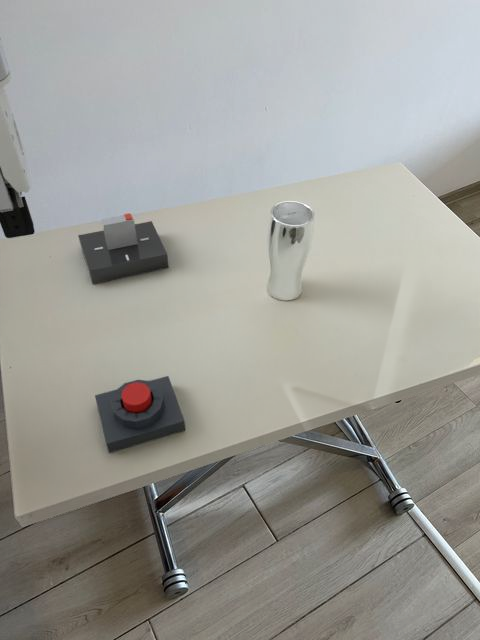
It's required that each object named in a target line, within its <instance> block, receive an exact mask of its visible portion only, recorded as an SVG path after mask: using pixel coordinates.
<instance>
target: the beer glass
mask: <svg viewBox="0 0 480 640" xmlns="http://www.w3.org/2000/svg"><path fill="white" fill-rule="evenodd" d="M269 213H270V215H269V220H268V227H267V238H266V239H267V241H266V243H267V253H268V261H269V275H268V279H267V282H266V291H267V293H268V295H269V296H271V297H272V298H274V299H275V300H279V301H284V302H286V301H293V300H295V299H296V300H297V299H298V298H300V296H301V295H302V293H303V281H302V276H303V273H304V269H305V266H306V263H307V261H308V258H309V255H310V251H311V249H312V244H313V237H314V230H315V229H314V228H315V212H314V209H313V208H312V207H311V206H309V205H308V204H306V203H304V202H301V201H299V200H298V201H297V200H282V201H280V202H277V203H275V204H274V205H273V206H271V208H270V212H269Z"/></svg>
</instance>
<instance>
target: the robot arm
mask: <svg viewBox="0 0 480 640" xmlns="http://www.w3.org/2000/svg"><path fill="white" fill-rule="evenodd" d="M11 80H12V74H11V70H10V67H9V64H8V60H7V57H6V53H5V49H4V46H3V43H2V39H1V38H0V226H1V230H2V232H3V234H4V237H5V238H6V239H13V238H20V237H25V236H31V235H34V234H35V231H36V230H35V226H34V222H33V221H34V220H33V218H32V214H31V212H30V208H29V206H28V203H27V199H26V196H23V193H24V194H25V193H28V192H29V191H30V189H31V187H32V185H31V180H30V179H31V178H30V174H29V166H28V160H27V156H26V152H25V149H24V146H23V142H22V140H21V137H20V134H19V130H18V127H17V123H16V120H15V117H14V114H13V111H12V107H11V105H10V101H9V99H8V96H7V93H6V92H7V91H6V89H5V87H6V86H7V85H8V84H9V82H11Z"/></svg>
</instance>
